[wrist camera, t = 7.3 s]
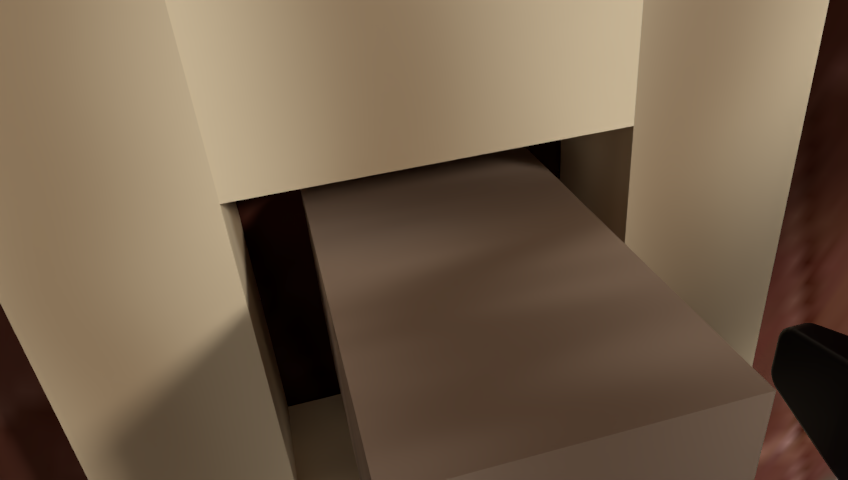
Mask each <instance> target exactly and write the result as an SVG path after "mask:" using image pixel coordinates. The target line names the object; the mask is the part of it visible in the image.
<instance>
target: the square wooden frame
mask: <svg viewBox="0 0 848 480" xmlns="http://www.w3.org/2000/svg"><path fill="white" fill-rule="evenodd" d="M828 5H829V0H0V304H1V306H2V308H3V310H4V312H5V314H6V316H7V318H8V320H9V322H10V324H11V326H12V328H13V330H14V332H15V334H16V336H17V338H18V340H19V342H20V344H21V346H22V348H23V350H24V352H25V354H26V356H27V358H28V360H29V362H30V364H31V366H32V368H33V370H34V372H35V374H36V376H37V378H38V380H39V382H40V384H41V386H42V388H43V390H44V392H45V394H46V396H47V398H48V400H49V402H50V404H51V406H52V408H53V410H54V412H55V414H56V416H57V418H58V420H59V422H60V424H61V426H62V428H63V430H64V432H65V434H66V436H67V438H68V440H69V442H70V444H71V446H72V448H73V450H74V452H75V454H76V456H77V458H78V460H79V462H80V464H81V466H82V468H83V470H84V472H85V474H86V476H87V478H88V480H360V476H359V472H358V467H357V463H356V459H355V454H354V450H353V445H352V441H351V436H350V432H349V427H348V423H347V419H346V414H345V410H344V405H343V401H342V396H341V394H338V395H334V396H330V397H326V398H322V399H318V400H314V401H309V402H305V403H301V404H297V405H293V406H289V407H288V404H287V400H286V396H285V392H284V389H283V385H282V381H281V377H280V373H279V369H278V365H277V361H276V357H275V353H274V349H273V345H272V342H271V338H270V334H269V330H268V326H267V322H266V318H265V314H264V310H263V306H262V302H261V299H260V295H259V291H258V287H257V283H256V279H255V275H254V271H253V267H252V263H251V259H250V255H249V252H248V248H247V244H246V240H245V236H244V232H243V228H242V224H241V220H240V216H239V212H238V209H237V205H236V201H239V200H244V199H250V198H255V197H260V196H265V195H271V194H276V193H281V192H287V191H292V190H297V189H302V188H308V187H313V186H318V185H324V184H329V183H334V182H340V181H345V180H350V179H355V178H361V177H366V176H371V175H377V174H382V173H387V172H392V171H398V170H403V169H408V168H414V167H419V166H424V165H429V164H435V163H440V162H445V161H451V160H456V159H461V158H467V157H472V156H477V155H482V154H488V153H493V152H498V151H504V150H509V149H514V148H519V147H525V146H530V145H535V144H541V143H546V142H551V141H556V140H561V156H560V181H561V182H562V183H563V184H564V185H565V186H566V187H567V188H568V189H569V190H570V191H571V192H572V193H573V194H574V195H575V196H576V197H577V198H578V199H579V200H580V201H581V202H582V203H583V204H584V205H585V206H586V207H587V208H588V209H590V210H591V211H592V212H593V213H594V214H595V215H596V216H597V217H598V218H599V219H600V220H601V221H602V222H603V223H604V224H605V225H606V226H607V227H608V228H609V229H610V230H611V231H612V232H613V233H614V234H615V235H616V236H617V237H618V238H619V239H620V240H621V241H623V242H624V243H625V244H626V245H627V246H628V247H629V248H630V249H631V250H632V251H633V252H634V253H635V254H636V255H637V256H638V257H639V258H640V259H641V260H642V261H643V262H644V263H645V264H646V265H647V266H648V267H649V268H650V269H651V270H652V271H653V272H654V273H656V274H657V275H658V276H659V277H660V278H661V279H662V280H663V281H664V282H665V283H666V284H667V285H668V286H669V287H670V288H671V289H672V290H673V291H674V292H675V293H676V294H677V295H678V296H679V297H680V298H681V299H682V300H683V301H684V302H685V303H686V304H687V305H689V306H690V307H691V308H692V309H693V310H694V311H695V312H696V313H697V314H698V315H699V316H700V317H701V318H702V319H703V320H704V321H705V322H706V323H707V324H708V325H709V326H710V327H711V328H712V329H713V330H714V331H715V332H716V333H717V334H718V335H719V336H720V337H722V338H723V339H724V340H725V341H726V342H727V343H728V344H729V345H730V346H731V347H732V348H733V349H734V350H735V351H736V352H737V353H738V354H739V355H740V356H741V357H742V358H743V359H744V360H745V361H746V362H747V363H748V364H749V365H750V366H751V367H752V364H753V359H754V355H755V350H756V345H757V340H758V336H759V331H760V326H761V322H762V317H763V312H764V307H765V303H766V298H767V293H768V288H769V284H770V279H771V274H772V270H773V265H774V260H775V255H776V251H777V246H778V241H779V236H780V232H781V227H782V222H783V218H784V213H785V208H786V203H787V199H788V194H789V189H790V184H791V180H792V175H793V170H794V165H795V161H796V156H797V151H798V147H799V142H800V137H801V132H802V128H803V123H804V118H805V113H806V109H807V104H808V99H809V95H810V90H811V85H812V80H813V76H814V71H815V66H816V61H817V57H818V52H819V47H820V43H821V38H822V33H823V28H824V24H825V19H826V14H827V9H828Z"/></svg>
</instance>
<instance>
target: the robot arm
mask: <svg viewBox="0 0 848 480" xmlns="http://www.w3.org/2000/svg"><path fill="white" fill-rule="evenodd" d="M771 375H772V380H773V382H774V385H775V387H776V389H777V390H778V392H779V393H780V395H781V396H782V398H783V399H784V401H785V402H786V404H787V405H788V407H789V408H790V410H791V411H792V413H793V414H794V416H795V417H796V419H797V420H798V422H799V423H800V425H801V426H802V428H803V429H804V431H805V432H806V434H807V435H808V437H809V438H810V440H811V441H812V443H813V444H814V445H815V447H816V448H817V450H818V451H819V453H820V454H821V456H822V457H823V459H824V460H825V462H826V463H827V465H828V466H829V468H830V469H831V470H832V472H833V473H834V475H835V476H836V477H837V479H838V480H848V336H847V335H844V334H842V333H839V332H836V331H833V330H831V329H828V328H825V327H822V326H819V325H817V324H813V323H804V324H800V325H796V326H792V327H788V328H786V329H784V330H783V331H782V332H781V333H780V335H779V338H778V343H777V347H776V351H775V356H774V360H773V364H772V369H771Z"/></svg>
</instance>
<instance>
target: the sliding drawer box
mask: <svg viewBox="0 0 848 480" xmlns="http://www.w3.org/2000/svg"><path fill="white" fill-rule="evenodd" d="M300 191H301V196H302V201H303V207H304V212H305V217H306V222H307V227H308V233H309V238H310V243H311V248H312V253H313V258H314V264H315V269H316V274H317V279H318V284H319V290H320V295H321V300H322V305H323V310H324V315H325V321H326V326H327V331H328V336H329V341H330V347H331V352H332V357H333V361H334V365H335V370H336V374H337V379H338V383H339V388H340V392H341V396H342V401H343V405H344V410H345V414H346V419H347V423H348V427H349V432H350V436H351V441H352V445H353V450H354V454H355V459H356V463H357V467H358V472H359V476H360V480H754V478H755V474H756V470H757V466H758V462H759V458H760V454H761V450H762V446H763V441H764V437H765V433H766V429H767V425H768V421H769V417H770V413H771V409H772V405H773V401H774V397H775V393H776V390H775V389H774V388H773V387H772V386H771V385H770V384H769V383H768V382H767V381H766V380H765V379H764V378H763V377H762V376H761V375H760V374H759V373H758V372H757V371H756V370H755V369H754V368H752V367H751V366H750V365H749V364H748V363H747V362H746V361H745V360H744V359H743V358H742V357H741V356H740V355H739V354H738V353H737V352H736V351H735V350H734V349H733V348H732V347H731V346H730V345H729V344H728V343H727V342H726V341H725V340H724V339H723V338H722V337H720V336H719V335H718V334H717V333H716V332H715V331H714V330H713V329H712V328H711V327H710V326H709V325H708V324H707V323H706V322H705V321H704V320H703V319H702V318H701V317H700V316H699V315H698V314H697V313H696V312H695V311H694V310H693V309H692V308H691V307H690V306H689V305H687V304H686V303H685V302H684V301H683V300H682V299H681V298H680V297H679V296H678V295H677V294H676V293H675V292H674V291H673V290H672V289H671V288H670V287H669V286H668V285H667V284H666V283H665V282H664V281H663V280H662V279H661V278H660V277H659V276H658V275H657V274H656V273H654V272H653V271H652V270H651V269H650V268H649V267H648V266H647V265H646V264H645V263H644V262H643V261H642V260H641V259H640V258H639V257H638V256H637V255H636V254H635V253H634V252H633V251H632V250H631V249H630V248H629V247H628V246H627V245H626V244H625V243H624V242H623V241H621V240H620V239H619V238H618V237H617V236H616V235H615V234H614V233H613V232H612V231H611V230H610V229H609V228H608V227H607V226H606V225H605V224H604V223H603V222H602V221H601V220H600V219H599V218H598V217H597V216H596V215H595V214H594V213H593V212H592V211H591V210H590V209H588V208H587V207H586V206H585V205H584V204H583V203H582V202H581V201H580V200H579V199H578V198H577V197H576V196H575V195H574V194H573V193H572V192H571V191H570V190H569V189H568V188H567V187H566V186H565V185H564V184H563V183H562V182H561V181H560V180H559V179H558V178H556V177H555V176H554V175H553V174H552V173H551V172H550V171H549V170H548V169H547V168H546V167H545V166H544V165H543V164H542V163H541V162H540V161H539V160H538V159H537V158H536V157H535V156H534V155H533V154H532V153H531V152H530V151H529V150H528V149H527V148H526V147H519V148H514V149H509V150H504V151H498V152H493V153H488V154H482V155H477V156H472V157H467V158H461V159H456V160H451V161H445V162H440V163H435V164H429V165H424V166H419V167H414V168H408V169H403V170H398V171H392V172H387V173H382V174H377V175H371V176H366V177H361V178H355V179H350V180H345V181H340V182H334V183H329V184H324V185H318V186H313V187H308V188H302V189H300Z"/></svg>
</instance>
